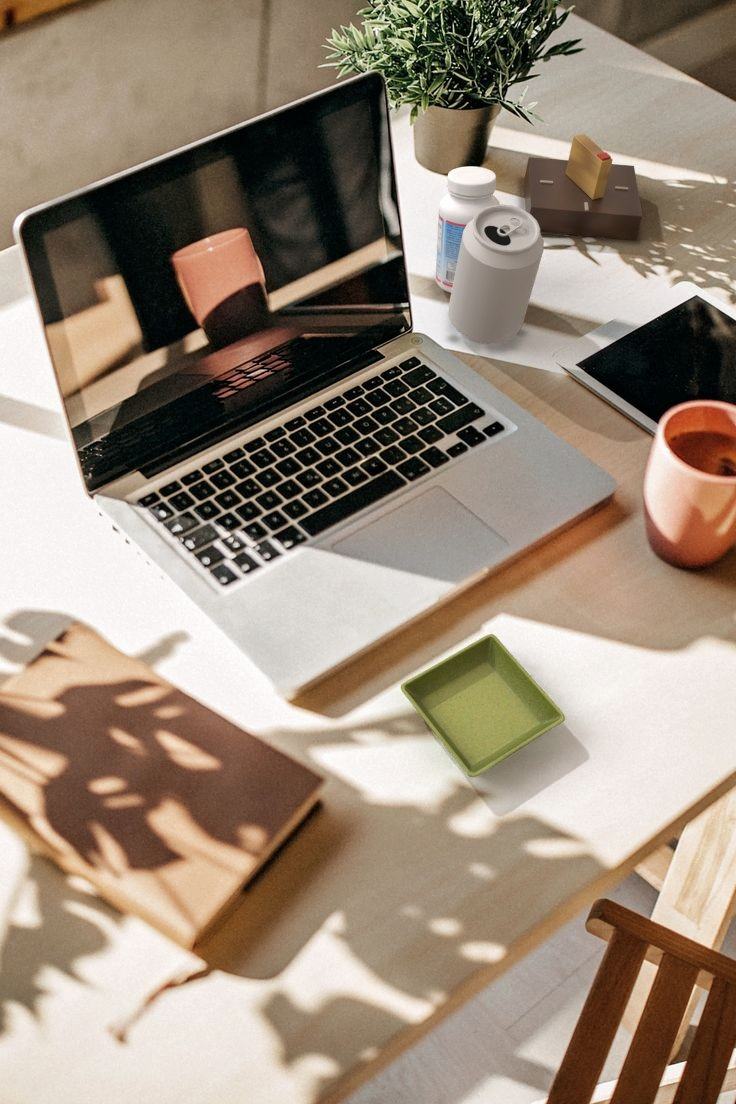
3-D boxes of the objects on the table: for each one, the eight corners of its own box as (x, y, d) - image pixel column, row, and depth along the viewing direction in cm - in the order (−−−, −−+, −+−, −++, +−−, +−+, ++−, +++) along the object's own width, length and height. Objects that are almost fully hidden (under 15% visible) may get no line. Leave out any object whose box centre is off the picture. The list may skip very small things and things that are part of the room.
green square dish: (562, 732, 75) (568, 718, 73) (467, 792, 71) (471, 779, 70) (488, 646, 79) (492, 631, 77) (395, 700, 76) (397, 685, 74)
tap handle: (565, 173, 115) (573, 133, 111) (575, 171, 116) (584, 131, 112) (592, 200, 112) (602, 159, 108) (603, 197, 113) (613, 157, 109)
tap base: (627, 189, 119) (634, 164, 117) (635, 240, 113) (642, 215, 111) (524, 180, 119) (528, 155, 117) (526, 231, 113) (531, 205, 111)
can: (431, 314, 102) (448, 218, 92) (485, 283, 105) (508, 186, 95) (482, 361, 100) (505, 266, 90) (537, 327, 103) (565, 232, 92)
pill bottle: (506, 286, 106) (517, 177, 98) (461, 303, 103) (469, 192, 95) (467, 264, 109) (475, 158, 102) (422, 280, 106) (427, 172, 99)
